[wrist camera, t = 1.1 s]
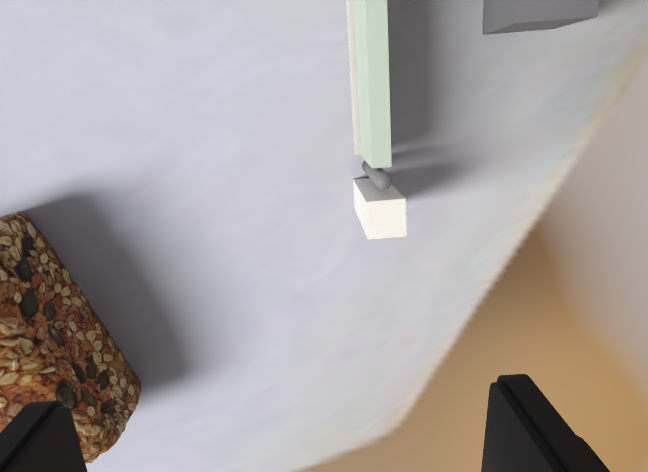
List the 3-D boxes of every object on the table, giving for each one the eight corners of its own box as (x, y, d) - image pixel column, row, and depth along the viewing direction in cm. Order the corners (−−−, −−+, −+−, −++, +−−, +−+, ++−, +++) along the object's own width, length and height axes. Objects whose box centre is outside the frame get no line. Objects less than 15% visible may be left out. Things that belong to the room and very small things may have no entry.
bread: (-84, 249, 33) (-238, 309, 24) (35, 199, 33) (-76, 241, 23) (49, 426, 39) (-33, 532, 30) (154, 388, 38) (104, 484, 29)
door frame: (335, -130, 27) (346, -212, 20) (373, -133, 27) (398, -216, 20) (354, 209, 34) (368, 239, 27) (385, 206, 34) (406, 236, 27)
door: (348, -81, 27) (360, -131, 21) (367, -82, 27) (385, -133, 21) (361, 172, 32) (374, 190, 26) (376, 171, 32) (393, 188, 26)
